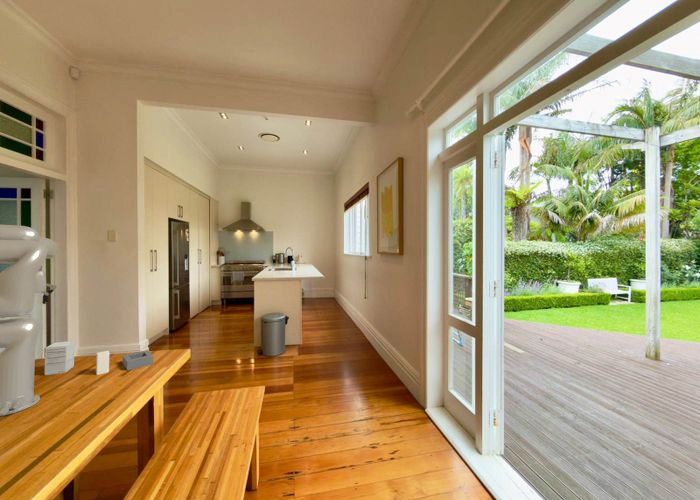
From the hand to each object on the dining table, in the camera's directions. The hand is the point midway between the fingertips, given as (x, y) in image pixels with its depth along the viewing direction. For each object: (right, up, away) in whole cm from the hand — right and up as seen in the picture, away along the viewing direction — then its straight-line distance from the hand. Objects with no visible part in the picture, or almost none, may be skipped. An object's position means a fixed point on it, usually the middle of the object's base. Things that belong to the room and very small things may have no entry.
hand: (28, 305), depth 123 cm
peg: (+37, -31, -2) cm, 48 cm away
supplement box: (+16, -31, -1) cm, 35 cm away
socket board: (+45, -31, +8) cm, 55 cm away
